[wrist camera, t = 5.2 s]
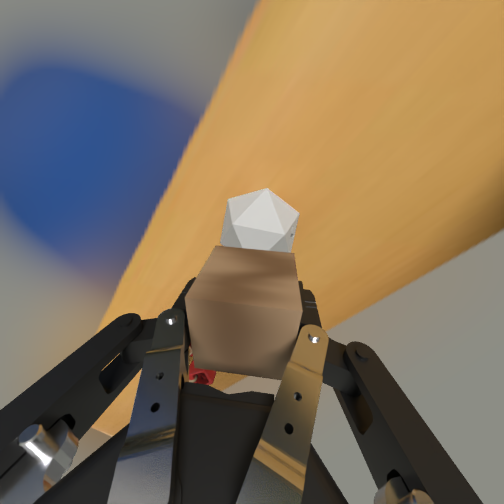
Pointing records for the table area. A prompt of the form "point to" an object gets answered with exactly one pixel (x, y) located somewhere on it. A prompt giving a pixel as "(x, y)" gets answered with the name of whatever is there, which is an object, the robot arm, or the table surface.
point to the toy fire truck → (200, 373)
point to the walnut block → (245, 312)
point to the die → (259, 222)
